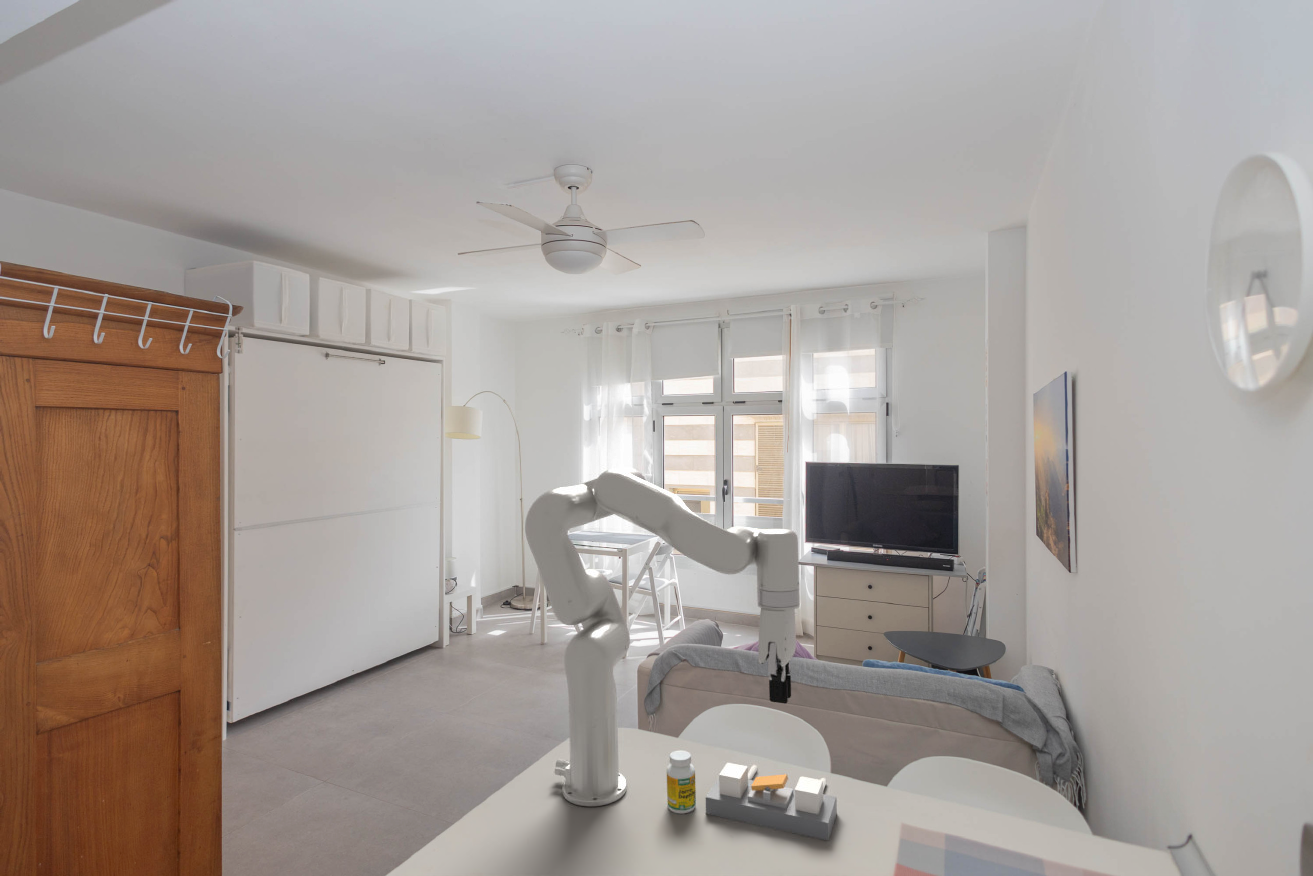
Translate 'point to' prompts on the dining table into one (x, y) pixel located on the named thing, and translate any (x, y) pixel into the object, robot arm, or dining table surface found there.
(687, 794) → the supplement bottle
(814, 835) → the power strip
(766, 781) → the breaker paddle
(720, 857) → the dining table surface
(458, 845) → the dining table surface
